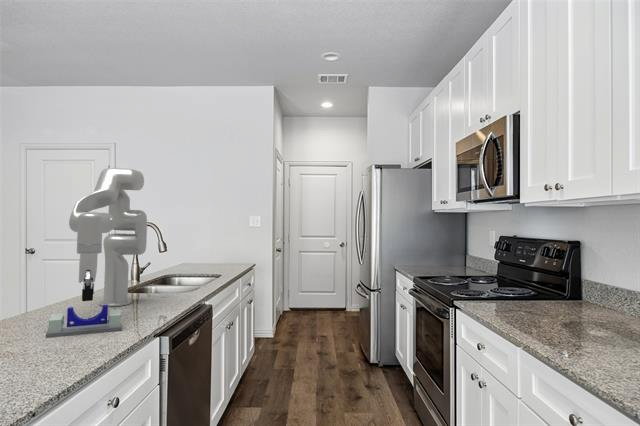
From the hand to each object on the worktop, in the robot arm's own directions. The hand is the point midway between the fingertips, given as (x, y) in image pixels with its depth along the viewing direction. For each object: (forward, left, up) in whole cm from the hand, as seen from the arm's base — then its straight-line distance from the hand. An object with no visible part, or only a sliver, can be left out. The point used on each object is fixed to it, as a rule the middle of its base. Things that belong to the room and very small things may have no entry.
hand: (87, 297), depth 140 cm
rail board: (+1, 0, -11) cm, 11 cm away
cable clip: (+1, 0, -9) cm, 9 cm away
